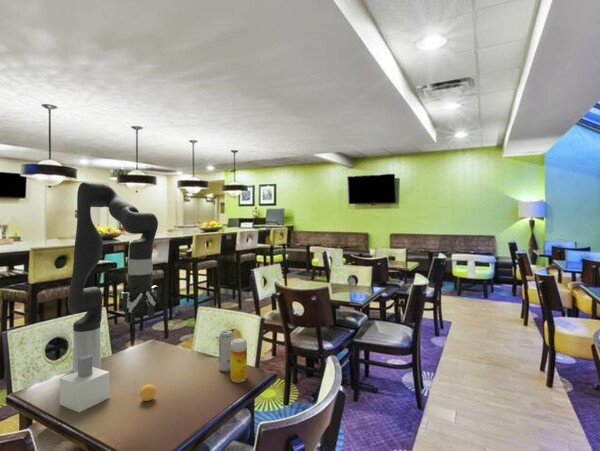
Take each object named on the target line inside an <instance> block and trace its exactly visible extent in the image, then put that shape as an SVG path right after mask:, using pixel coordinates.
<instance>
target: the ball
mask: <svg viewBox="0 0 600 451" xmlns="http://www.w3.org/2000/svg"><path fill="white" fill-rule="evenodd" d="M156 394H157V389H156V387H155V386H154V385H153V384H146V385H144V386H143V387H141V389H140V391H139V397H140V399H141V400H142V401H145V402H149V401H152V400H153V399H154V398H155V396H156Z"/></svg>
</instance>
